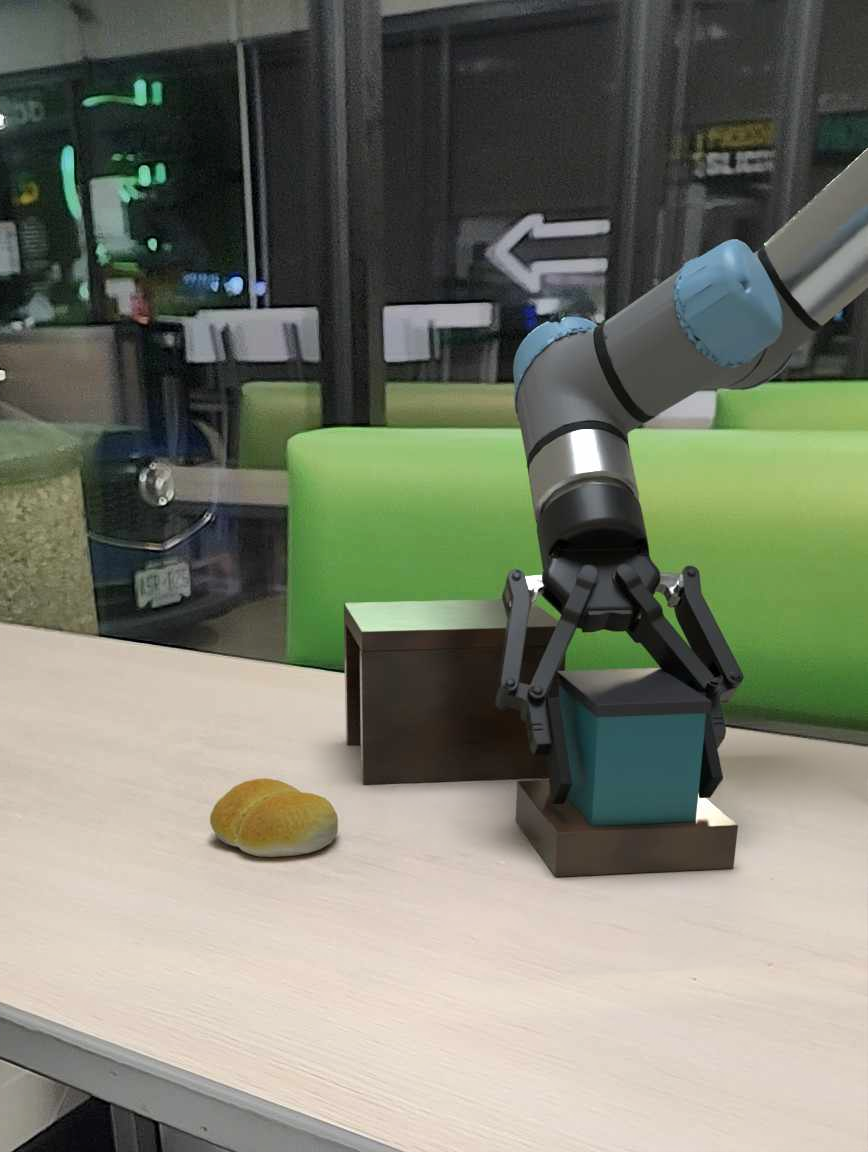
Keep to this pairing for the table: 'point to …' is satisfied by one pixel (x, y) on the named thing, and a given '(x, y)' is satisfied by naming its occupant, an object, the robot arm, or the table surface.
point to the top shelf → (437, 690)
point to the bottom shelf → (622, 838)
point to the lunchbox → (632, 745)
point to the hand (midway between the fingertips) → (637, 791)
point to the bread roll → (273, 819)
